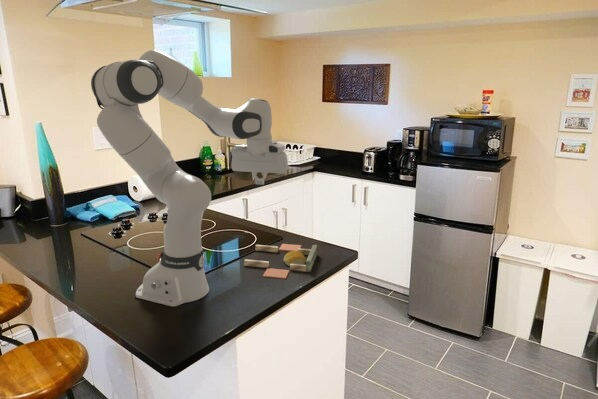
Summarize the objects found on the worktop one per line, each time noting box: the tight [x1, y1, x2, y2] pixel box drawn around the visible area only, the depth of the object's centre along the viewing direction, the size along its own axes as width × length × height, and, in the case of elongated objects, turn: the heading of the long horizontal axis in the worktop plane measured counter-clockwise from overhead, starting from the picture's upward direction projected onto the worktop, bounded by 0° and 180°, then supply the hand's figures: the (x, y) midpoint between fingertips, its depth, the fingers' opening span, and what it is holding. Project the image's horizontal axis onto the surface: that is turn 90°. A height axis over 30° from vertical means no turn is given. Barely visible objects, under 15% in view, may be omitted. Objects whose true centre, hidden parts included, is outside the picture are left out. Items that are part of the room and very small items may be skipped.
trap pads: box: [262, 243, 302, 280], centre depth 157 cm, size 8×29×1 cm, turn 169°
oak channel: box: [243, 244, 318, 273], centre depth 156 cm, size 24×15×4 cm, turn 79°
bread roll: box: [283, 251, 307, 267], centre depth 155 cm, size 8×9×4 cm
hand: (259, 184), depth 150 cm, fingers closed
